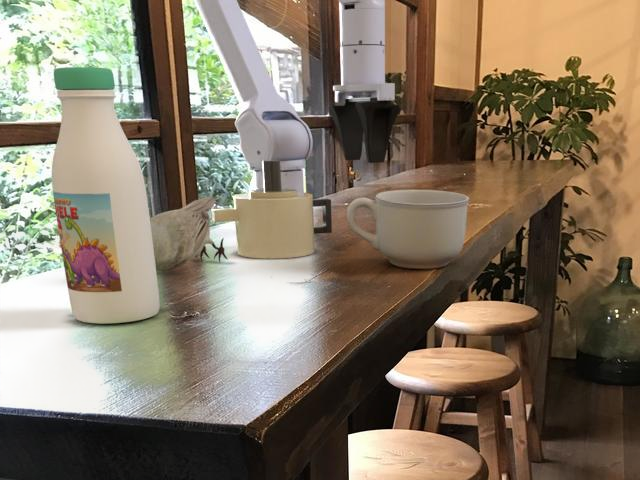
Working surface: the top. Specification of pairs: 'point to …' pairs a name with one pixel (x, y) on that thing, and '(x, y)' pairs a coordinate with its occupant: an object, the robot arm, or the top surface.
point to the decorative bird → (182, 234)
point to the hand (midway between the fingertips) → (364, 161)
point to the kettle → (275, 219)
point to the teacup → (415, 226)
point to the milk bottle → (101, 205)
